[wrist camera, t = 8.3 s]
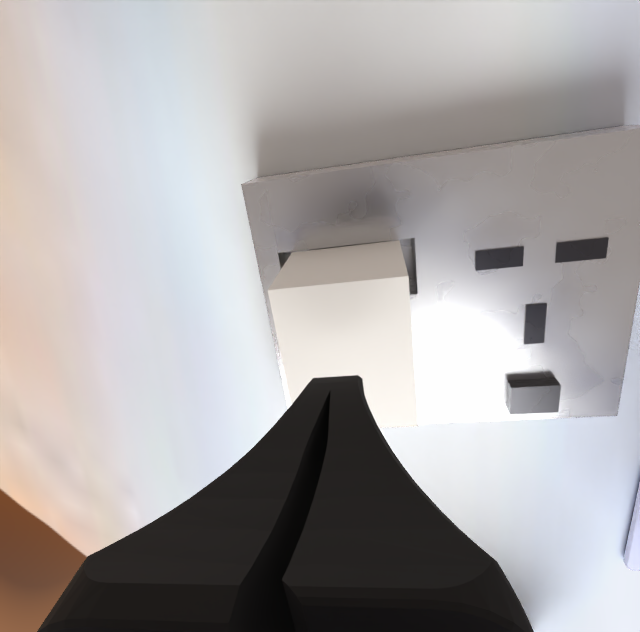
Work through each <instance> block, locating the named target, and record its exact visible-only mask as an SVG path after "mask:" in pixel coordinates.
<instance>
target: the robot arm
mask: <svg viewBox="0 0 640 632" xmlns="http://www.w3.org/2000/svg"><path fill="white" fill-rule="evenodd" d="M624 563H625V565H626V567H627V568H628V569H630V570H635V571H640V483H639V488H638V493H637V497H636V502H635V507H634V512H633V517H632V521H631V526H630V531H629V536H628V541H627V545H626V550H625V555H624ZM37 632H534V631H533V629H532V627H531V624H530V622H529V620H528V618H527V616H526V614H525V611H524V609H523V607H522V605H521V603H520V601H519V600H518V598H517V596H516V594H515V592H514V590H513V588H512V587H511V585H510V583H509V581H508V580H507V578H506V576H505V574H504V573H503V571H502V569H501V568H500V566H499V564H498V563H497V561H496V560H494V559H493V558H492V557H491V556H490V555H488V554H487V553H486V552H485V551H484V550H482V549H481V548H480V547H479V546H478V545H477V544H475V543H474V542H473V541H472V540H471V539H470V538H469V537H468V536H467V535H465V534H464V533H463V532H462V531H461V530H460V529H459V528H458V527H457V526H456V525H455V524H454V523H453V522H452V521H451V520H450V519H449V518H448V517H447V516H446V515H445V514H443V513H442V512H441V510H440V509H439V508H438V507H437V506H436V505H435V504H434V503H433V502H432V500H431V499H430V498H429V497H428V496H427V495H426V494H425V493H424V492H423V491H422V489H421V488H420V487H419V486H418V485H417V484H416V483H415V481H414V480H413V479H412V477H411V476H410V475H409V474H408V472H407V471H406V470H405V468H404V467H403V466H402V464H401V463H400V461H399V460H398V459H397V457H396V456H395V454H394V453H393V451H392V450H391V448H390V446H389V445H388V443H387V442H386V440H385V438H384V436H383V435H382V433H381V431H380V429H379V427H378V425H377V424H376V421H375V419H374V417H373V415H372V413H371V411H370V408H369V406H368V403H367V401H366V398H365V395H364V387H363V379H362V378H361V377H360V376H358V375H353V376H337V377H320V378H313V379H312V380H311V381H310V382H309V383H308V384H307V386H306V387H305V388H304V390H303V391H302V392H301V393H300V395H299V396H298V397H297V399H296V400H295V401H294V402H293V404H292V405H291V406H290V407H289V408H288V410H287V411H286V412H285V413H284V414H283V416H282V417H281V418H280V419H279V420H278V422H277V423H276V424H275V425H274V426H273V427H272V428H271V429H270V430H269V431H268V433H267V434H266V435H265V436H264V437H263V438H262V439H261V440H260V441H259V442H258V443H257V444H256V445H255V446H254V447H253V448H252V449H251V450H250V451H249V452H248V453H247V454H246V455H245V456H243V457H242V458H241V459H240V460H239V461H238V462H237V463H235V464H234V465H233V466H232V467H231V468H230V469H228V470H227V471H226V472H225V473H223V474H222V475H221V476H219V477H218V478H217V479H215V480H214V481H213V482H211V483H210V484H209V485H207V486H206V487H205V488H203V489H202V490H201V491H199V492H198V493H197V494H195V495H194V496H192V497H191V498H190V499H188V500H187V501H185V502H183V503H182V504H180V505H179V506H177V507H176V508H174V509H173V510H171V511H170V512H168V513H166V514H165V515H163V516H161V517H160V518H158V519H156V520H155V521H153V522H152V523H150V524H148V525H146V526H145V527H143V528H141V529H139V530H138V531H136V532H134V533H132V534H130V535H128V536H126V537H124V538H122V539H121V540H119V541H117V542H115V543H113V544H111V545H109V546H107V547H105V548H104V549H102V550H100V551H98V552H96V553H94V554H92V555H90V556H88V557H87V558H86V560H85V561H84V563H83V564H82V565H81V567H80V568H79V570H78V571H77V573H76V574H75V576H74V577H73V579H72V580H71V582H70V583H69V585H68V586H67V588H66V589H65V591H64V592H63V594H62V595H61V597H60V598H59V600H58V601H57V603H56V604H55V606H54V607H53V609H52V610H51V612H50V613H49V615H48V616H47V618H46V619H45V621H44V622H43V624H42V625H41V627H40V628H39V630H38V631H37Z"/></svg>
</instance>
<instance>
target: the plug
mask: <svg viewBox="0 0 640 632" xmlns="http://www.w3.org/2000/svg"><path fill="white" fill-rule="evenodd" d="M268 295H269V300H270V305H271V309H272V314H273V319H274V324H275V329H276V334H277V339H278V343H279V348H280V353H281V358H282V363H283V368H284V373H285V377H286V382H287V387H288V392H289V397H290V402H291V405H292V404H293V402H294V401H295V400H296V399H297V397H298V396H299V395H300V393H301V392H302V391H303V390H304V388H305V387H306V386H307V384H308V383H309V382H310V381H311V380H312V379H313V378H320V377H337V376H353V375H358V376H360V377H361V378H362V379H363V387H364V395H365V398H366V401H367V403H368V406H369V408H370V411H371V413H372V415H373V417H374V419H375V421H376V424H377V425H378V427H379V428H394V427H416V426H418V416H417V400H416V385H415V369H414V354H413V338H412V323H411V307H410V292H409V276H408V272H407V268H406V264H405V260H404V257H403V253H402V249H401V245H400V241H399V240H396V241H388V242H379V243H370V244H362V245H353V246H344V247H335V248H327V249H318V250H309V251H300V252H292V253H291V255H290V256H289V258H288V259H287V261H286V262H285V264H284V266H283V267H282V269H281V270H280V272H279V273H278V275H277V276H276V278H275V279H274V281H273V283H272V284H271V286H270V287H269V289H268Z"/></svg>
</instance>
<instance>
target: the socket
mask: <svg viewBox="0 0 640 632" xmlns="http://www.w3.org/2000/svg"><path fill="white" fill-rule="evenodd" d="M241 185H242V190H243V195H244V200H245V204H246V209H247V214H248V219H249V224H250V229H251V234H252V238H253V243H254V248H255V253H256V258H257V263H258V267H259V272H260V277H261V282H262V287H263V292H264V296H265V301H266V306H267V311H268V316H269V321H270V326H271V330H272V335H273V340H274V345H275V350H276V355H277V359H278V364H279V369H280V374H281V379H282V384H283V388H284V393H285V398H286V403H287V408H289V407H290V406H291V402H290V397H289V392H288V387H287V382H286V377H285V373H284V368H283V363H282V358H281V353H280V348H279V343H278V339H277V334H276V329H275V324H274V319H273V314H272V309H271V305H270V300H269V295H268V289H269V287H270V286H271V284H272V283H273V281H274V279H275V278H276V276H277V275H278V273H279V272H280V270H281V269H282V267H283V266H284V264H285V262H286V261H287V259H288V258H289V256H290V255H291V253H292V252H300V251H309V250H318V249H327V248H335V247H344V246H353V245H362V244H370V243H379V242H388V241H396V240H399V241H400V245H401V249H402V253H403V257H404V260H405V264H406V268H407V272H408V276H409V292H410V307H411V323H412V338H413V354H414V369H415V385H416V400H417V416H418V424H435V423H458V422H482V421H506V420H529V419H553V418H577V417H600V416H617V414H618V408H619V402H620V396H621V390H622V384H623V378H624V372H625V366H626V360H627V354H628V348H629V342H630V336H631V330H632V324H633V318H634V312H635V306H636V300H637V294H638V288H639V283H640V125H625V126H617V127H610V128H603V129H596V130H589V131H582V132H575V133H568V134H561V135H554V136H547V137H540V138H533V139H526V140H519V141H512V142H505V143H498V144H491V145H484V146H477V147H470V148H463V149H456V150H448V151H441V152H434V153H427V154H420V155H413V156H406V157H399V158H392V159H385V160H378V161H371V162H364V163H357V164H350V165H343V166H336V167H329V168H322V169H315V170H308V171H301V172H294V173H287V174H279V175H272V176H265V177H258V178H255V179H253V180H250V181H248V182H246V183H243V184H241Z"/></svg>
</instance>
